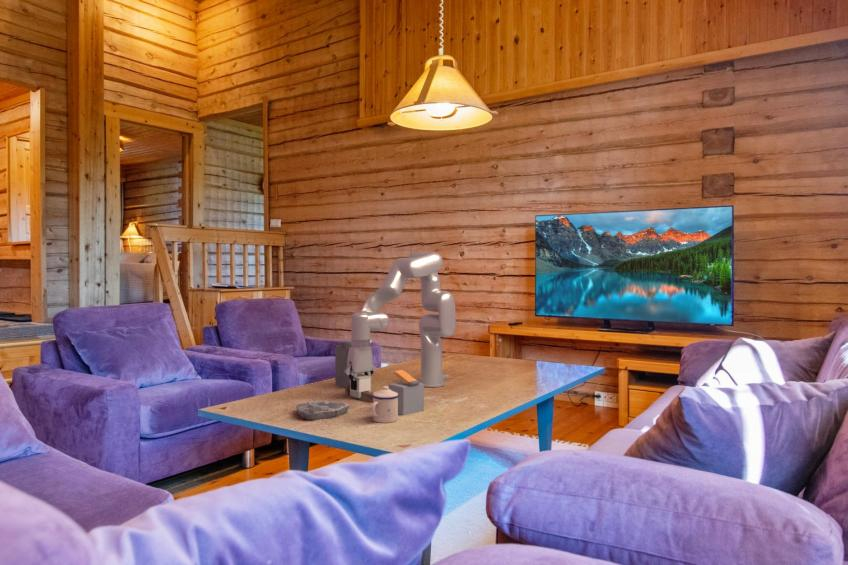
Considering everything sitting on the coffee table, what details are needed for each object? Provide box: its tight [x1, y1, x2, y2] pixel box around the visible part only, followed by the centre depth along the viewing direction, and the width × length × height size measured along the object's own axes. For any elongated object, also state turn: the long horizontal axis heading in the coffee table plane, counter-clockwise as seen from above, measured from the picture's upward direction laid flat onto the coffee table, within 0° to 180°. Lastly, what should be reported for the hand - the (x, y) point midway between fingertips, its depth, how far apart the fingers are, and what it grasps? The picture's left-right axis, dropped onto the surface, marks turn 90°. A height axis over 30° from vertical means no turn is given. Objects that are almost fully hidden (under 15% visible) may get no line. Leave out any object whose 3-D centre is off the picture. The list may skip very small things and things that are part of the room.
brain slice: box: [295, 400, 351, 421], centre depth 212 cm, size 20×17×3 cm
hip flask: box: [334, 340, 362, 389], centre depth 259 cm, size 16×4×20 cm, turn 47°
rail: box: [344, 384, 374, 404], centre depth 232 cm, size 5×30×4 cm, turn 44°
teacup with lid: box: [370, 385, 399, 424], centre depth 204 cm, size 12×9×12 cm
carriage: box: [350, 373, 372, 398], centre depth 238 cm, size 6×6×8 cm
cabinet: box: [388, 381, 425, 416], centre depth 218 cm, size 10×8×10 cm
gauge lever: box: [393, 369, 420, 386], centre depth 218 cm, size 4×10×2 cm, turn 44°
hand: (360, 388), depth 238 cm, fingers closed on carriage, 5 cm apart
